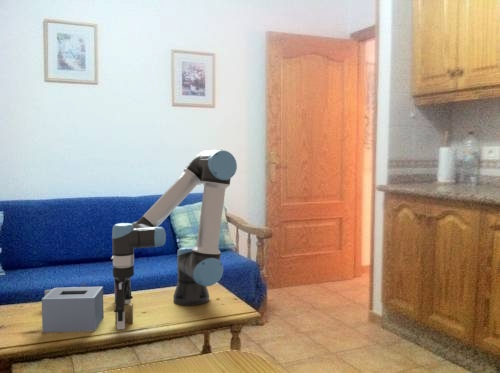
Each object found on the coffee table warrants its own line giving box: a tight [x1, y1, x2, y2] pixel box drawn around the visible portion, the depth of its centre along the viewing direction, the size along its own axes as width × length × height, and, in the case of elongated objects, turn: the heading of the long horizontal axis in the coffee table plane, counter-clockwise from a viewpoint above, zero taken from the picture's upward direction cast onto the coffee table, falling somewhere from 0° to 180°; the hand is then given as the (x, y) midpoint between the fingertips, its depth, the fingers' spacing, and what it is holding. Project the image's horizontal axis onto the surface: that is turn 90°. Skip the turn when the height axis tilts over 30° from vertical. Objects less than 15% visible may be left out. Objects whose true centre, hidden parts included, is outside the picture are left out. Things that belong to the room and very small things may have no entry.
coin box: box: [41, 286, 105, 333], centre depth 173 cm, size 18×14×12 cm
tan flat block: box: [114, 303, 134, 326], centre depth 175 cm, size 6×2×7 cm, turn 95°
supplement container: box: [113, 277, 132, 303], centre depth 201 cm, size 7×7×10 cm
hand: (124, 322), depth 175 cm, fingers open, 12 cm apart
